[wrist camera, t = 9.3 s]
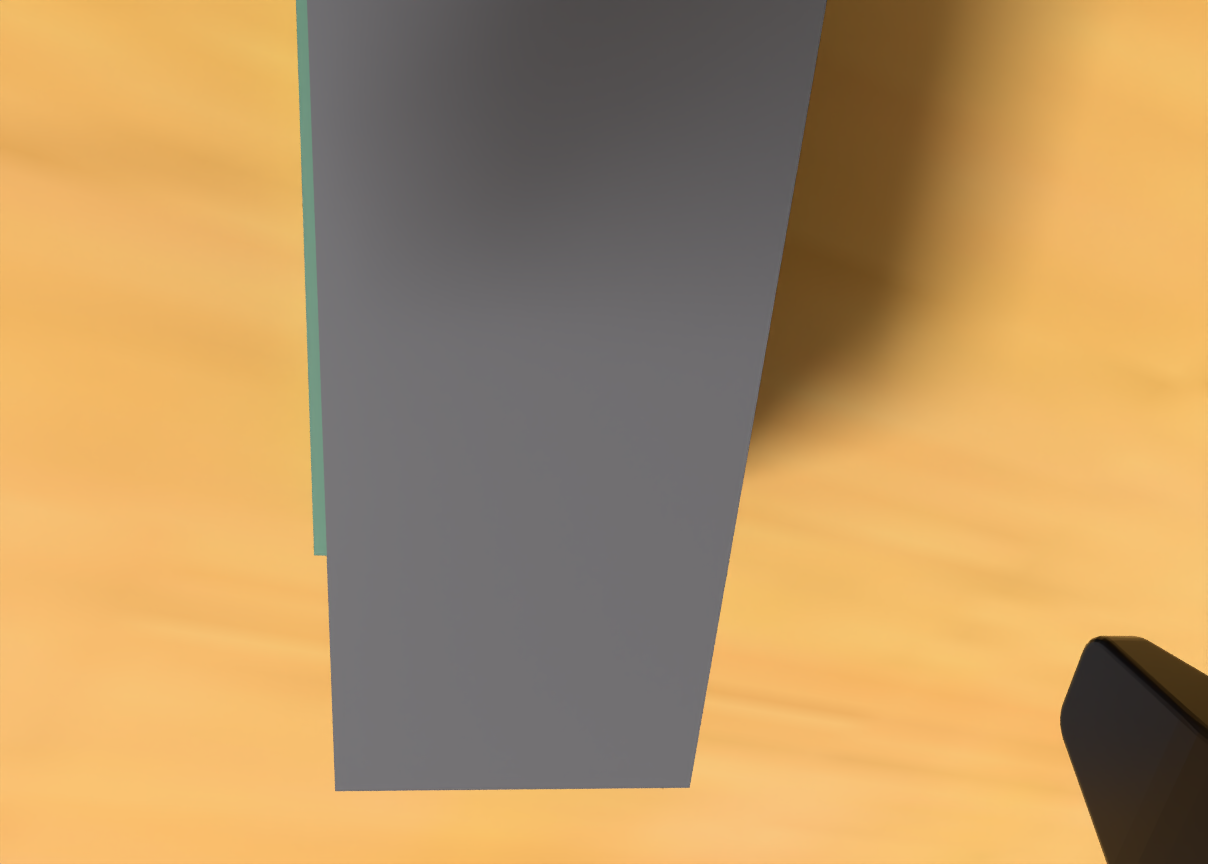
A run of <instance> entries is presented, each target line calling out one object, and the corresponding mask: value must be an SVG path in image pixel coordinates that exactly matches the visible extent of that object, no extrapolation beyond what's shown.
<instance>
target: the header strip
mask: <svg viewBox="0 0 1208 864" xmlns="http://www.w3.org/2000/svg"><path fill="white" fill-rule="evenodd" d="M296 14H297V44H298V75H299V105H300V136H301V166H302V197H303V227H304V258H305V289H306V319H307V350H308V380H309V411H310V441H311V472H312V502H313V533H314V555H325V556H327V547H326V519H325V491H324V463H323V436H322V408H321V380H320V352H319V324H318V297H317V269H316V241H315V213H314V186H313V158H312V130H311V102H310V74H309V47H308V19H307V0H296Z"/></svg>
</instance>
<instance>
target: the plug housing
mask: <svg viewBox="0 0 1208 864" xmlns="http://www.w3.org/2000/svg"><path fill="white" fill-rule="evenodd" d="M826 2H827V0H307V19H308V47H309V74H310V102H311V130H312V158H313V186H314V213H315V241H316V269H317V297H318V324H319V352H320V380H321V408H322V436H323V463H324V491H325V519H326V547H327V574H328V602H329V630H330V658H331V686H332V713H333V741H334V769H335V791H397V790H498V789H599V788H690V782H691V776H692V771H693V765H694V759H695V753H696V748H697V742H698V736H699V730H700V725H701V719H702V713H703V708H704V702H705V696H706V690H707V685H708V679H709V673H710V667H711V662H712V656H713V650H714V644H715V639H716V633H717V627H718V622H719V616H720V610H721V604H722V599H723V593H724V587H725V581H726V576H727V570H728V564H729V558H730V553H731V547H732V541H733V536H734V530H735V524H736V518H737V513H738V507H739V501H740V495H741V490H742V484H743V478H744V472H745V467H746V461H747V455H748V450H749V444H750V438H751V432H752V427H753V421H754V415H755V409H756V404H757V398H758V392H759V387H760V381H761V375H762V369H763V364H764V358H765V352H766V346H767V341H768V335H769V329H770V323H771V318H772V312H773V306H774V301H775V295H776V289H777V283H778V278H779V272H780V266H781V260H782V255H783V249H784V243H785V237H786V232H787V226H788V220H789V215H790V209H791V203H792V197H793V192H794V186H795V180H796V174H797V169H798V163H799V157H800V152H801V146H802V140H803V134H804V129H805V123H806V117H807V111H808V106H809V100H810V94H811V88H812V83H813V77H814V71H815V66H816V60H817V54H818V48H819V43H820V37H821V31H822V25H823V20H824V14H825V8H826Z"/></svg>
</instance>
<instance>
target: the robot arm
mask: <svg viewBox="0 0 1208 864" xmlns="http://www.w3.org/2000/svg"><path fill="white" fill-rule="evenodd" d="M1060 726H1061V732H1062V736H1063V740H1064V743H1065V746H1066V748H1067V751H1068V754H1069V757H1070V760H1071V763H1072V765H1073V768H1074V771H1075V774H1076V777H1077V780H1078V782H1079V785H1080V788H1081V791H1082V794H1083V797H1084V799H1085V802H1086V805H1087V808H1088V811H1089V814H1090V816H1091V819H1092V822H1093V825H1094V828H1095V831H1096V833H1097V836H1098V839H1099V842H1100V845H1101V848H1102V850H1103V853H1104V856H1105V859H1106V862H1107V864H1208V676H1207V675H1206V674H1204V673H1202V672H1201V671H1199V670H1197V669H1196V668H1194V667H1192V666H1190V665H1189V664H1187V663H1185V662H1184V661H1182V660H1180V659H1179V658H1177V657H1175V656H1173V655H1172V654H1170V653H1168V652H1167V651H1165V650H1163V649H1162V648H1160V647H1158V646H1156V645H1155V644H1153V643H1151V642H1150V641H1148V640H1146V639H1144V638H1140V637H1136V636H1098V637H1096V638H1093V639H1092V640H1090V641H1089V643H1088V644H1087V645H1086V646H1085V648H1084V650H1083V653H1082V655H1081V658H1080V660H1079V663H1078V666H1077V668H1076V671H1075V673H1074V676H1073V679H1072V681H1071V684H1070V687H1069V689H1068V692H1067V694H1066V697H1065V700H1064V702H1063V705H1062V709H1061V716H1060Z"/></svg>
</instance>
